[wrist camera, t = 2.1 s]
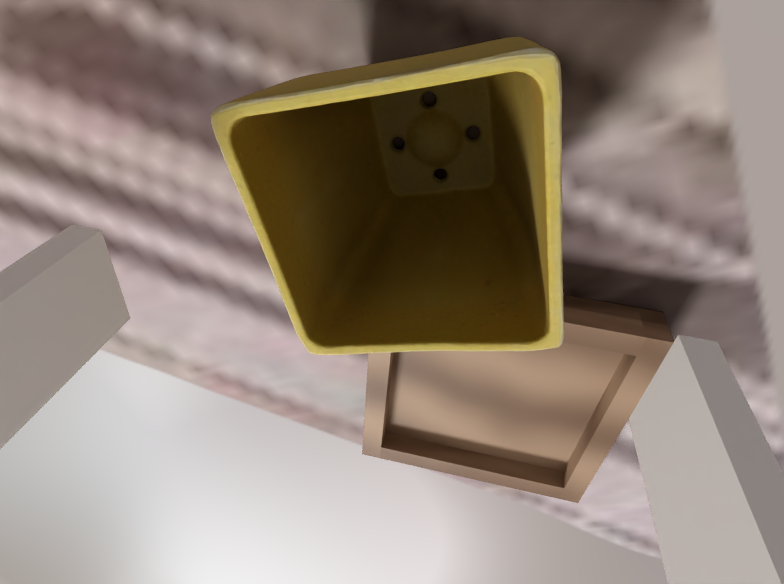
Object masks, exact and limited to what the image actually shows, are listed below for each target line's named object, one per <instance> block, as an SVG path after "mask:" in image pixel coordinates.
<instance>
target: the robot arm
mask: <svg viewBox="0 0 784 584" xmlns="http://www.w3.org/2000/svg"><path fill="white" fill-rule="evenodd" d="M129 319H130V316H129V313H128V310H127V307H126V304H125V301H124V298H123V295H122V292H121V289H120V286H119V283H118V279H117V276H116V273H115V270H114V267H113V264H112V261H111V258H110V255H109V252H108V249H107V246H106V243H105V240H104V237H103V234H102V231H101V230H99V229H93V228H88V227H82V226H77V225H71V226H69V227H68V228H66V229H65V230H63V231H62V232H60V233H59V234H57V235H56V236H54V237H53V238H51V239H50V240H48V241H46V242H45V243H43V244H42V245H40V246H39V247H37V248H36V249H34V250H33V251H31V252H30V253H28V254H27V255H25V256H24V257H22V258H21V259H19V260H18V261H16V262H15V263H13V264H12V265H10V266H9V267H7V268H6V269H4V270H3V271H1V272H0V449H1V448H2V447H3V446H4V445H5V444H6V443H7V442H8V441H9V439H11V438H12V437H13V436H14V435H15V434H16V432H18V431H19V429H21V428H22V427H23V426H24V425H25V424H26V423H27V422H28V421H29V420H30V418H32V417H33V416H34V415H35V414H36V413H37V412H38V411H39V410H40V409H41V408H42V407H43V405H45V403H47V402H48V401H49V400H50V398H52V397H53V396H54V394H55V393H56V392H57V391H58V390H59V389H60V388H61V387H62V386H63V385H64V384H65V383H66V382H67V381H68V380H69V379H70V378H71V377H72V376H73V375H74V374H75V373H76V372H77V371H78V370H79V369H80V368H81V367H82V366H83V365H84V364H85V363H86V362H87V361H88V360H89V359H90V358H91V357H92V356H93V355H94V354H95V353H96V352H97V351H98V350H99V349H100V348H101V347H102V346H103V345H104V344H105V343H106V342H107V341H108V340H109V339H110V338H111V337H112V336H113V335H114V334H115V333H116V332H117V331H118V330H119V329H120V328H121V327H122V326H123V325H124V324H125V323H126V322H127V321H128V320H129ZM629 422H630V426H631V431H632V435H633V439H634V443H635V447H636V451H637V456H638V460H639V464H640V468H641V472H642V477H643V481H644V485H645V489H646V493H647V497H648V502H649V506H650V510H651V514H652V518H653V522H654V527H655V531H656V535H657V539H658V543H659V547H660V552H661V556H662V560H663V564H664V568H665V572H666V577H667V581H668V584H784V474H783V472H782V470H781V468H780V466H779V464H778V462H777V460H776V458H775V456H774V454H773V452H772V450H771V448H770V446H769V444H768V442H767V440H766V438H765V436H764V434H763V432H762V430H761V428H760V426H759V424H758V422H757V420H756V418H755V416H754V414H753V412H752V410H751V408H750V406H749V404H748V402H747V400H746V398H745V396H744V394H743V392H742V390H741V388H740V386H739V384H738V382H737V380H736V378H735V376H734V374H733V372H732V370H731V368H730V366H729V364H728V362H727V360H726V358H725V356H724V354H723V352H722V350H721V348H720V346H719V344H718V342H716V341H710V340H705V339H699V338H694V337H688V336H683V335H678V336H677V338H676V339H675V341H674V343H673V345H672V346H671V348H670V350H669V351H668V353H667V355H666V356H665V358H664V360H663V362H662V363H661V365H660V367H659V368H658V370H657V372H656V373H655V375H654V377H653V379H652V380H651V382H650V384H649V385H648V387H647V389H646V390H645V392H644V394H643V396H642V397H641V399H640V401H639V402H638V404H637V406H636V407H635V409H634V411H633V412H632V414H631V416H630V418H629Z"/></svg>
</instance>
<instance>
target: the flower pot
mask: <svg viewBox="0 0 784 584" xmlns="http://www.w3.org/2000/svg"><path fill="white" fill-rule="evenodd" d="M427 92H431V93H433V94H434V95H435V97H436V102H435V104H434V105H433V106H430V107H428V106H426V105H425V104H424V103H423V101H422V98H423V95H424V94H425V93H427ZM211 122H212V127H213V130H214V133H215V136H216V139H217V142H218V144H219V146H220V149H221V152H222V154H223V157H224V159H225V162H226V164H227V166H228V169H229V171H230V174H231V176H232V178H233V180H234V183H235V185H236V187H237V189H238V192H239V194H240V196H241V199H242V201H243V203H244V206H245V208H246V211H247V213H248V216H249V218H250V220H251V223H252V225H253V227H254V230H255V232H256V234H257V237H258V239H259V241H260V244H261V246H262V248H263V251H264V253H265V256H266V258H267V261H268V263H269V266H270V268H271V271H272V273H273V275H274V278H275V280H276V283H277V286H278V288H279V291H280V294H281V296H282V299H283V301H284V304H285V306H286V309H287V311H288V314H289V316H290V319H291V321H292V323H293V326H294V329H295V331H296V333H297V335H298V337H299V339H300V340H301V342H302V343H303V345H304V346H305V348H306V349H307V350H308V351H309V352H310V353H312V354H318V355H343V354H364V353H391V352H409V351H534V350H543V349H550V348H557V347H559V346H561V345H562V343H563V340H564V314H563V265H562V81H561V67H560V62H559V60H558V58H557V56H556V54H555V53H554V52H552V51H550V50H549V49H546V48H544V47H542V46H540V45H539V44H537V43H535V42H533V41H531V40H528V39H526V38H522V37H508V38H502V39H497V40H493V41H488V42H483V43H479V44H474V45H469V46H464V47H460V48H455V49H450V50H445V51H440V52H435V53H430V54H425V55H420V56H414V57H409V58H404V59H398V60H392V61H387V62H381V63H376V64H370V65H365V66H359V67H353V68H348V69H342V70H336V71H330V72H324V73H318V74H312V75H307V76H303V77H299V78H295V79H292V80H289V81H286V82H283V83H280V84H277V85H275V86H272V87H269V88H266V89H263V90H261V91H258V92H255V93H252V94H249V95H246V96H243V97H240V98H238V99H235V100H233V101H230V102H228V103H225V104H223V105H221V106H219V107H218V108H217V109H215V110H214V112H213V113H212V114H211ZM471 126H476V127H478V129H479V130H480V135H479V137H478V138H477V139H475V140H471V139H469V138H468V137H467V135H466V131H467V129H468V128H470V127H471ZM396 137H400V138H401V139H403V140H404V142H405V146H404V148H403V149H401V150H397V149H395V148H394V146H393V143H392V142H393V140H394V138H396ZM439 168H443V169H444V170H446V172H447V176H446V178H445V179H442V180H439V179H437V178H436V177H435V175H434V172H435V170H436V169H439Z"/></svg>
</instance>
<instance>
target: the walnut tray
mask: <svg viewBox="0 0 784 584" xmlns="http://www.w3.org/2000/svg"><path fill="white" fill-rule="evenodd" d="M563 314H564V340H563V343H562V345H561V346H559V347H557V348H550V349H543V350H534V351H409V352H391V353H369V357H368V372H367V388H366V403H365V419H364V435H363V450H362V454H365V455H369V456H373V457H378V458H382V459H386V460H391V461H395V462H400V463H404V464H408V465H413V466H417V467H422V468H426V469H431V470H435V471H439V472H444V473H448V474H453V475H457V476H461V477H466V478H470V479H475V480H479V481H484V482H488V483H492V484H497V485H501V486H506V487H510V488H514V489H519V490H523V491H528V492H532V493H536V494H541V495H545V496H550V497H554V498H559V499H563V500H567V501H572V502H576V503H578V502H579V500H580V499H581V497H582V495H583V494H584V492H585V490H586V489H587V487H588V485H589V484H590V482H591V480H592V479H593V477H594V475H595V474H596V472H597V470H598V469H599V467H600V465H601V464H602V462H603V460H604V459H605V457H606V455H607V454H608V452H609V450H610V449H611V447H612V446H613V444H614V442H615V441H616V439H617V437H618V436H619V434H620V432H621V431H622V429H623V427H624V426H625V424H626V422H627V421H628V419H629V417H630V416H631V414H632V412H633V411H634V409H635V407H636V406H637V404H638V402H639V401H640V399H641V397H642V396H643V394H644V392H645V390H646V389H647V387H648V385H649V384H650V382H651V380H652V379H653V377H654V375H655V373H656V372H657V370H658V368H659V367H660V365H661V363H662V362H663V360H664V358H665V356H666V355H667V353H668V351H669V350H670V348H671V346H672V345H673V343H674V340H673V338H672V335H671V332H670V330H669V327H668V324H667V322H666V319H665V317H664V314H663V312H659V311H653V310H647V309H642V308H636V307H631V306H625V305H620V304H614V303H608V302H603V301H597V300H592V299H586V298H581V297H575V296H569V295H564V294H563Z"/></svg>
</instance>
